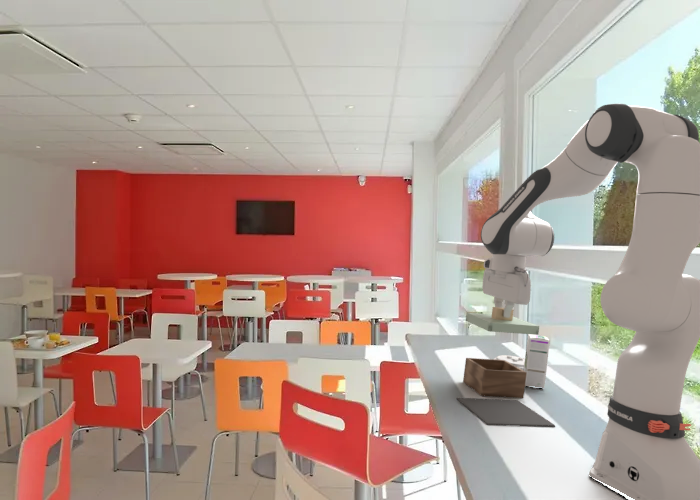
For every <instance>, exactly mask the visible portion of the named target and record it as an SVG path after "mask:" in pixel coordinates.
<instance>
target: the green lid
mask: <svg viewBox="0 0 700 500" xmlns="http://www.w3.org/2000/svg"><path fill="white" fill-rule="evenodd" d="M504 308H505V307H502V308H500V307H495V306H493V307H492V309H491V313H490V314H489V313H488V314H487V313H476V312H466V316H465V321H466V322H468V323H470V324H473V325H474V326H477V327H478V328H481V329H483V330H486V331H487V332H491V333H492V332H493V333H507V334H521V335H528V334H531V335H539V333H540V332H539V331H540V325H537V324H534V323H532V322H530V321H526V320H524V319H521V318H519V317H515V316H514V310H515V309H514V308H513V309H512V311H511V314H510V317H509V318H506V317H503V316H502V310H504Z"/></svg>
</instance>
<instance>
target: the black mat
mask: <svg viewBox="0 0 700 500" xmlns="http://www.w3.org/2000/svg"><path fill="white" fill-rule="evenodd" d="M456 400H457V401H458V402H459V403H461V404H462V405H463V406H464V407H465V408H467V409H468V410H469V411H470V412H471V413H472V414H474V415H475V416H476V417H478V419H479V420H480V421H482V422H483V423H485V425H487V426H506V425H520V426H519V427H546V428H548V427H549V428H555V427H556V425H555V424H554V423H552V422H551V421H550V420H548V419H546V418H545V417H543V416H542V415H540V414H539V413H538V412H536V411H535V410H533V409H531V408H530V407H528V406H527V405H525V404H524V403H523V402H521V401H520V400H518V399H504V398H503V399H502V398H501V399H500V398H479V397H475V398H474V397H456Z"/></svg>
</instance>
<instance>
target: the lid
mask: <svg viewBox="0 0 700 500" xmlns="http://www.w3.org/2000/svg"><path fill="white" fill-rule="evenodd" d="M493 359H494V360H505V361H507V362H509V363H511V364H513V365H514V366H516V367H518V368H520V369H522V370H523V371H524V363H525V357H524V358H523V357H519V356H515V355H508V354H507V355H505V354H502V355H498V356H496V357H494V358H493Z"/></svg>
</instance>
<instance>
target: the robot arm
mask: <svg viewBox="0 0 700 500" xmlns="http://www.w3.org/2000/svg"><path fill="white" fill-rule="evenodd" d="M699 140H700V135H699V131H698V128H697V126H696V125H695V123H694V122H693V121H691V120H690V119H688V118H686V117H684V116H682V115H679V114H672V113H668V112H665V111H662V110H658V109H655V108H653V107H650V106H649V107H648V106H641V105H631V104H630V105H627V104H625V103H619V102H618V103H608V104H604V105H601V106H599V107H598V108H597V109H595V110H594V112H593V113H592V114H591V115H590V117H589V119H588V120H587V121H586V122H585V123H584V124H583V125H582V126H581V127H579V129H578V130H577V132H576V133H574V135H573V137H572V138H571V139H570V141H569V142H568V143H567V144H566V146H565V147H564V149H563V150H562V151H561V152H560V153H559V154H558V155H557V156H556V157H555V158H553V160H551V161H550V162H549V163H547V164H546V165H544V166H543V167H541V168H539V169H536V170H535V171H534V172H532V173H531V174H530V175H529V176H528V177H527V178H526V179H525V180H524V181H523V183H521V185H520V186H519V187H518V188H516V190H515V191H514V193H512V194H511V195H510V197H509V198H508V199H507V200H506V202H505V203H504V204H503V205H502V206H501V207H500V208H499V209H498V210H496V212H494V213H493V214H492V215H491V216H489V217H488V218H486V221H484V223H483V225H482V226H481V230H480V231H481V232H480V240H481V243H482V245H483V246H484V248H486V250H487V251H488V252H489V253H490V254H492V256H491V257H489V258H488V259H485V260H484V262H483V268H484V271H483V277H482V286H481V287H482V291H483V294H485V295H488V296H491V297H494V298H493V303H494V307H500V308H504V310H502V316H503V317H506V318H509V317H510V314H511V311H512V309H513V310H514V307H515V305H523V306H527V305H529V303H530V301H531V291H532V290H531V286H532V285H531V284H532V283H531V282H532V281H531V278H530V274H529V273H528V271H527V269H526V265H527V257H536V258H537V257H544V256H545V255H548V254H549V252H551V250H552V248H553V246H554V243H555V232H554V228H553V226H552V225H551V224H550V223H549V222H548V221H545V220H543V219H541V218H539V217H537V216H536V215H534V214H533V213H532V211H533V210H534V208H535V207H537V206H538V205H540V204H542V203H544V202H548V201H552V200H556V199H557V200H558V199H564V198H573V197H581V196H585V195H588V194H590V193H592V192H593V191H595V190H596V189H597V188H599V186H601V184H602V183H603V182H604V181H605V180H606V179H607V178H608V177H609V175H610V174H611V172H612V171H613V169H614V168H615V167H616V166H617V164H618V163H619V164H622V163H627V164H630V165H633V166H635V168H636V170H637V173H638V174H637V175H638V179H637V188H636V195H635V206H634V216H633V221H632V222H633V224H632V230H631V236H630V240H629V244H628V246H627V249H626V251H625V255H624V257H623V260H622V262H621V263H620V266H619V267H618V268H617V270H616V272H615V273H614V274H613V275H612V276H611V277H610V278H609V279H608V280H607V281H606V282H605V284H604V285H603V287H602V289H601V292H600V306H601V310H602V311H603V313H604V315H605V317H606V318H607V320H609V321H610V322H611V323H613V324H614V325H616V326H618V327H621V328H623V329H627V330H630V331H633V332H635V333H634V334H633V335H634V336H633V337H632V339H631V341H630V343H629V344H628V346H627V347H626V348H625V349H624V350H623V351H622V352H621V354H620V355H619V357H618V360H617V365H616V372H615V378H614V385H613V391H612V396H610V398H609V401H608V405H607V417H608V422H607V424H606V426H605V428H604V429H603V430H604V431H603V432H602V434H601V438H600V442H599V446H598V449H597V454H596V457H595V460H594V462H593V465H592V468H591V469H590V470H589V473H588V476H589V475H590V476H591V477H593V478H595V479H597V480H599V481H601V482H603V483H605V484H607V485H609V486H611V487H613V488H615V489H617V490H619V491H620V492H622V493H624V494H626V495H627V496H629V497H631V498H633V499H635V500H700V459H699V457H698V455H696V453H695V451H694V449H693V448H692V447H691V446H690V444H689V443H688V441H687V440H686V438H685V436H686V432H685V431H691V430H692V429H690V428H689V427H692V424H691V423H684V419H683V415H682V413H681V411H680V410H681V402H682V398H683V390H684V385H685V379H686V374H687V371H688V368H689V364H690V361H691V359H692V356H693V354H694V351H695V349H696V346H697V345H698V343H699V340H700V279H699V278H697V277H694V276H693V275H689V274H686V273H684V271H685V268H686V266H687V262H688V260H689V258H690V256H691V254H692V252H693V251H694V249H696V248H697V247H698V245H699V244H700V141H699ZM503 303H504V307H503Z"/></svg>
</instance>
